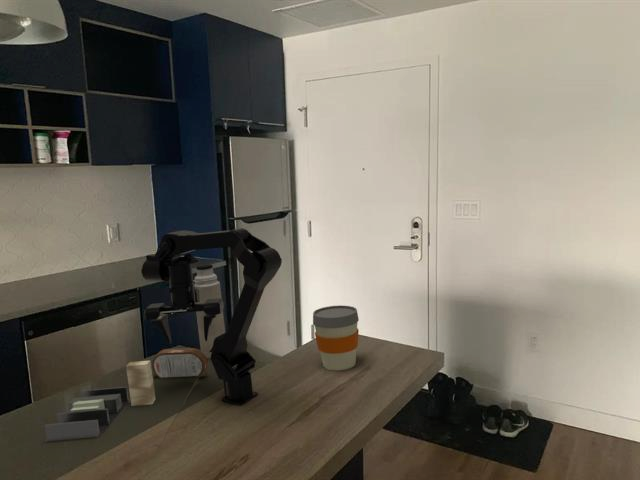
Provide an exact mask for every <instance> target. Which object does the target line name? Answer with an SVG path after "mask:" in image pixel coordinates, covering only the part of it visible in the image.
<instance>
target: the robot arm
mask: <svg viewBox="0 0 640 480" xmlns="http://www.w3.org/2000/svg"><path fill="white" fill-rule="evenodd" d="M221 248H230V249H231V250H232V252H233V254H234V256H235V257H236V260H237V261H238V262H239V264H241V265H242V266H243V268H242V276H243V277H242V278H243V280H244V283H243V285H242V290H241V291H240V294H239V297H238V299H237V302H236V306H235V309H234V311H233V314H232V317H231V319H230V321H229V325H228V326H227V329H226V331H225V333H224V334H222V335H220V336H218V337H216V338H215V339H214V342H213V347H212V349H211V350H210V352H212V353H211V357H210V358H209V359H210V361H211V364H212V366H213V368H214V371H215V373H216V375H217V378H218V380H222V382H223V390H224V391H223V392H224V396H222V397H221V398H220V400H221V401H222V400H224V401H223V402H226V401H228V402H227V403H229V402H231V403H230V404H233V403H235V405H237V404H238V406H241V405H242V404H244V403H246V402H248V401H250V400H251V399H253V398H254V396H255V397H256V396H257V394H258V392H257V391H254V390H253V382H252V373H251V372H250V371H251V370H253V369H255V366H256V363H257V361H256V359H255V358H254V357H253V356H252V355H251V354H250V352H249V351H248V341H247V335H248V332H249V330H250V326H251V324H252V322H253V320H254V317H255V314H256V312H257V309H258V306H259V303H260V301H261V298H262V296H263V293H264V290H265V288H266V286H268V284H270V282H272V280H273V279H274V277H275V276H276V274H277V273H278V271H279V269H280V268H281V267H282V261H283V259H282V257H281V255H280V253H279V251H277V250H276V249H275V248H273V247H271V246H270V245H269V244H268V243H267V242H265V241H264V240H262V239H260V238H259V237H256V236H255V235H253V234H252V233H251V232H250V231H248V230H247V229H246V228H241V227H240V228H237V229H230V230H221V231H211V232H201V233H200V232H196V231H194V230H193V231H192V230H178V231H173V232H168V233H164V234H162V236H161V240H160V243H159V246H158V247H157V250H156V252H155V253H152V254H147V255H146V256H145V261H144V262H143V264H142V266H141V271H140V272H141V275H142V278H143V279H144V280H146V281H149V282H150V281H151V282H168V281H169V289H168V290H169V294H170V299H171V305H170V306H169V305H166V303H165V302H159V303H151V304H149V305H148V306H147V307H146V308H145V309H144V311H143V318H144V321H149V322H150V324H154V325H155V326H156V327H157V328H158V330H159V331H160V333H161V334H162V335H163V337H164V339H165V341H166V342H167V344H169V345H172V335H171V330H170V325H169V315H171V314H172V315H173V314H181V313H182V314H183V313H185V314H186V313H196V312H198V311H204V313H205V316H204V317H203V319H204V337H205V341H207V340H208V336H209V331H210V326H211V323H212V320H213V318H215V317H216V316H217V314H221V312H222V310H223V311H224V308H225V306H224V305H225V304H224V300H223V299H221V298H222V297H221V298H218V299H207V300H206V302H205V303H203V304H196V303H197V302H200V294H199V290H198V289H195V281H194V276H193V267H192V266H193V265H192V264H196V263H197V264H198V263H199V259H197V257H195V256H193V254H191V253H190V252H193V251H197V250H209V249H210V250H211V249H221ZM182 255H183V256H182Z"/></svg>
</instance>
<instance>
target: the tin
mask: <svg viewBox="0 0 640 480" xmlns="http://www.w3.org/2000/svg"><path fill="white" fill-rule="evenodd" d="M208 362H209V361H208V358H206V356H205V355H204V353H203V352H201V349H198V348H194V347H188V348H187V347H185V348H183V347H182V348H165V349H162V350H160V351H158V352H157V354H156V355H155V356H154V357H153V359H152V362H151V368H152V372H154V374H155V376H156V377H157V378H160V379H163V378H178V377H179V378H182V377H183V378H185V377H196V379H199V378H200V377H201V376H202V375H203V374H204V373H205V372H207V369H208V364H209V363H208Z"/></svg>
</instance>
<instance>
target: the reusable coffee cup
mask: <svg viewBox="0 0 640 480" xmlns="http://www.w3.org/2000/svg"><path fill="white" fill-rule="evenodd" d="M358 323H359V315H358V309H357V308H356V307H355V306H350V305H329V306H324V307H319V308H318V309H316V310H314V311H313V312H312V325H313V326H314V330H315V332H314V335H315V336H314V337H315V341H316V345H317V349H318V350H319V352H320V357H321V362H322V366H323V368H324V367H325V368H324V369H326V370H329V371H344V370H348V369H349V370H350V369H351V368H353V367H354V366H355V365H356V360H357V358H356V357H357V348H358V346H359V328H358Z"/></svg>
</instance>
